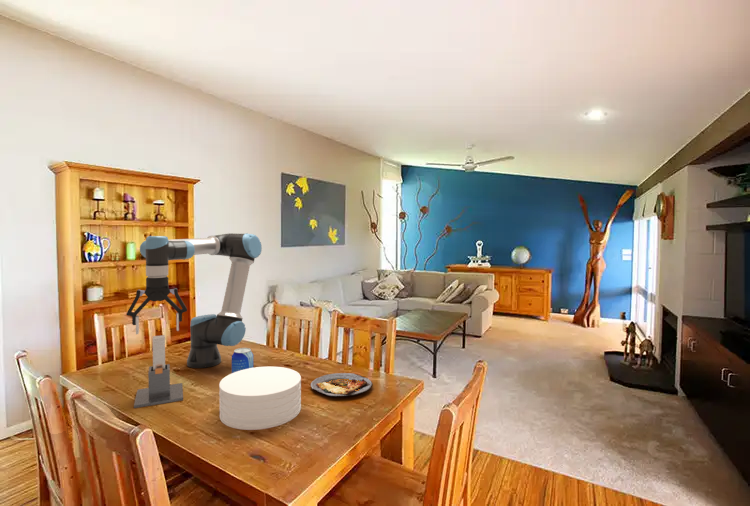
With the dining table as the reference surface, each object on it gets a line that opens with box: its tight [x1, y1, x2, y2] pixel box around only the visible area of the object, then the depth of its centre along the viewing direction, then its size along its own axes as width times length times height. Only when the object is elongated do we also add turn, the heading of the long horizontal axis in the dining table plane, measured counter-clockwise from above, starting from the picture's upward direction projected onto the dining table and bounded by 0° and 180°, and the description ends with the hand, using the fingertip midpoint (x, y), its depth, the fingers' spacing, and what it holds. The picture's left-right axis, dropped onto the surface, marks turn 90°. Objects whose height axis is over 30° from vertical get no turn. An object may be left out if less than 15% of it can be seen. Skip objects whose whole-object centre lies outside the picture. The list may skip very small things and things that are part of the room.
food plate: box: [310, 372, 373, 397], centre depth 165 cm, size 25×23×4 cm
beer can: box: [231, 347, 254, 374], centre depth 163 cm, size 8×8×16 cm
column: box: [152, 334, 166, 371], centre depth 154 cm, size 5×5×22 cm
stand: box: [133, 363, 184, 409], centre depth 155 cm, size 16×16×12 cm
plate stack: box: [218, 365, 302, 431], centre depth 144 cm, size 28×28×12 cm
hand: (157, 331), depth 153 cm, fingers open, 13 cm apart
